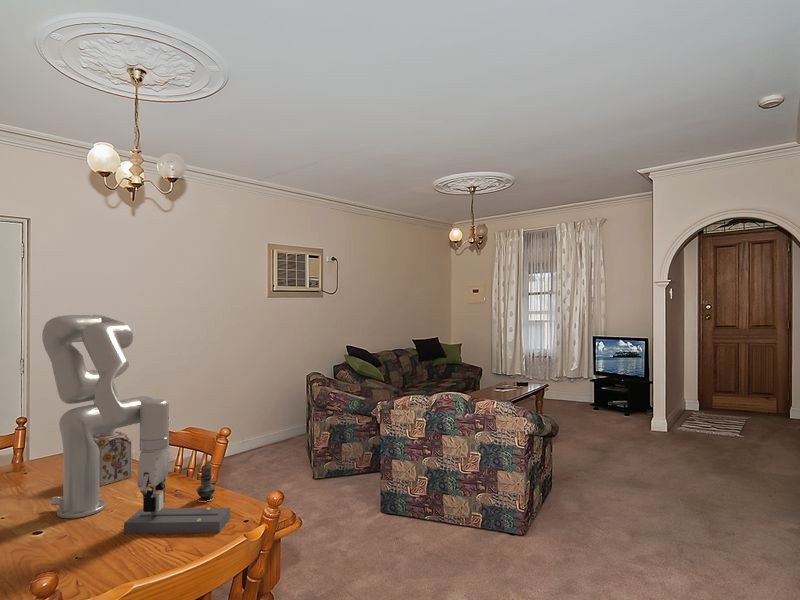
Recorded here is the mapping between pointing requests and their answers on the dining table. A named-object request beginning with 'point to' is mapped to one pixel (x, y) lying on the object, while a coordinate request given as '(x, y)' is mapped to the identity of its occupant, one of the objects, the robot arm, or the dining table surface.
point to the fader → (158, 500)
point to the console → (178, 521)
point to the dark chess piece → (205, 484)
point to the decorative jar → (114, 456)
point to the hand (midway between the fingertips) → (154, 506)
